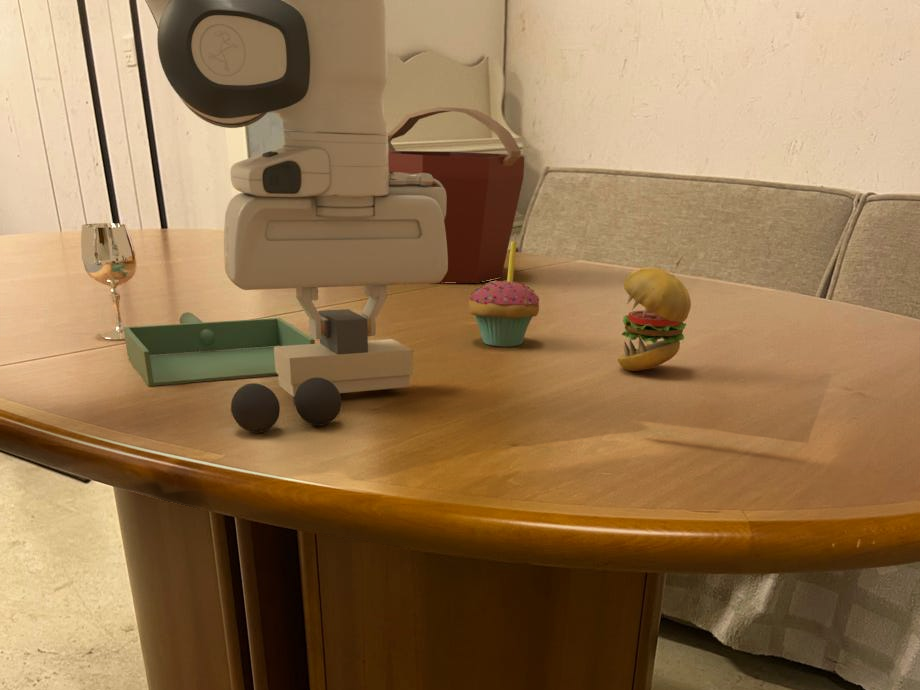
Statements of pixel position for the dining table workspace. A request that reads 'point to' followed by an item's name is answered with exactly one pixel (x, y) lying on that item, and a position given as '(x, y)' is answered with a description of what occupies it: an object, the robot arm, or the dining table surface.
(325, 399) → the ball
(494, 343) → the cupcake
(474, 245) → the bucket
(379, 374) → the brush
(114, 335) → the wineglass
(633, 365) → the hamburger
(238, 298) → the dining table surface
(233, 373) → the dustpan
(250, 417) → the ball
